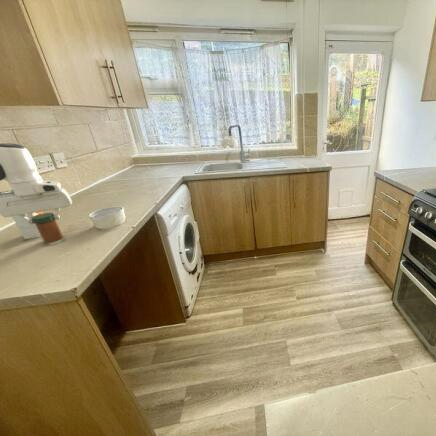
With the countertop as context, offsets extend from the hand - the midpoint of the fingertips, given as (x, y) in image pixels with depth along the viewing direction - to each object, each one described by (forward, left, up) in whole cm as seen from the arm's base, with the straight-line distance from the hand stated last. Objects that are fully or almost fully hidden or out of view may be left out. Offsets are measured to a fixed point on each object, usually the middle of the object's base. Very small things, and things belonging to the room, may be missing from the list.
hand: (45, 221), depth 97 cm
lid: (0, 0, +2) cm, 2 cm away
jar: (0, 0, -9) cm, 9 cm away
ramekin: (+20, +4, -9) cm, 22 cm away
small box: (-7, +12, -9) cm, 17 cm away
